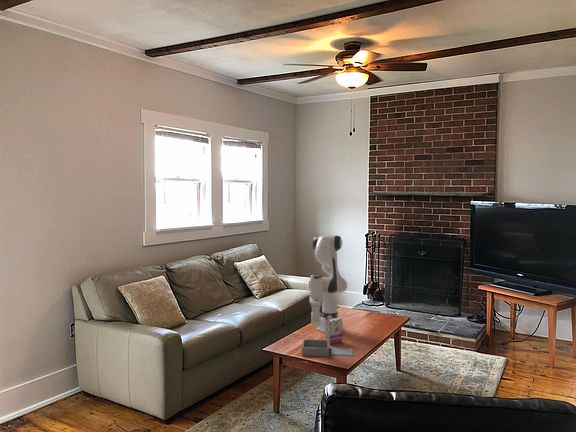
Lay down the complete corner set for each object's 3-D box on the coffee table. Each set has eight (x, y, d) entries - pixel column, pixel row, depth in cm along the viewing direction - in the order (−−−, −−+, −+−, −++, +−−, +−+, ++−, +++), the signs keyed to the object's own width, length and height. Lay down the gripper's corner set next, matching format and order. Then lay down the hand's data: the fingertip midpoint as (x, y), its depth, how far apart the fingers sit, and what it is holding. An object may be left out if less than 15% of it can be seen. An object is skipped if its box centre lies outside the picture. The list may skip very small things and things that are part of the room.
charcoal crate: (303, 346, 300) (303, 339, 300) (328, 347, 299) (328, 340, 299) (301, 355, 285) (301, 347, 284) (328, 356, 283) (328, 348, 283)
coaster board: (331, 348, 297) (331, 347, 297) (352, 349, 296) (352, 348, 296) (331, 355, 285) (331, 354, 285) (353, 356, 284) (353, 355, 284)
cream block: (311, 324, 293) (311, 312, 293) (320, 324, 293) (320, 312, 292) (311, 326, 289) (311, 314, 288) (320, 326, 288) (320, 314, 288)
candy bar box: (337, 340, 313) (337, 317, 312) (342, 342, 309) (342, 318, 308) (325, 343, 307) (325, 319, 306) (330, 345, 303) (330, 321, 302)
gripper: (312, 295, 300) (311, 315, 301) (310, 303, 280) (310, 325, 281) (321, 295, 300) (321, 316, 301) (320, 304, 279) (320, 325, 280)
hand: (315, 320), depth 291 cm, fingers closed on cream block, 4 cm apart
